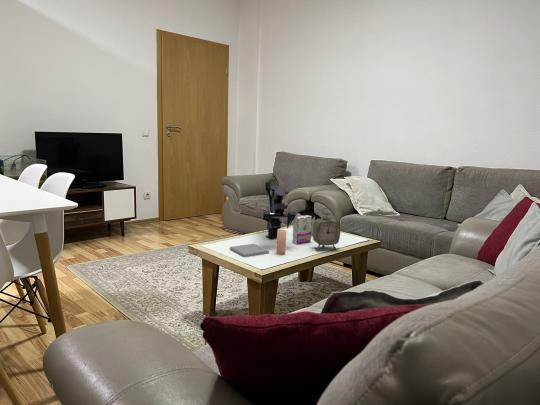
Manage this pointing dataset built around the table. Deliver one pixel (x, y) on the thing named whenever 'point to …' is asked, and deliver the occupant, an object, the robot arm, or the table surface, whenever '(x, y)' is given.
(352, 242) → the table surface
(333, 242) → the tabletop clock
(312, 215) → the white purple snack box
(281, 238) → the terracotta canister
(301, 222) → the candy bar box
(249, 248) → the slate board
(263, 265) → the table surface
